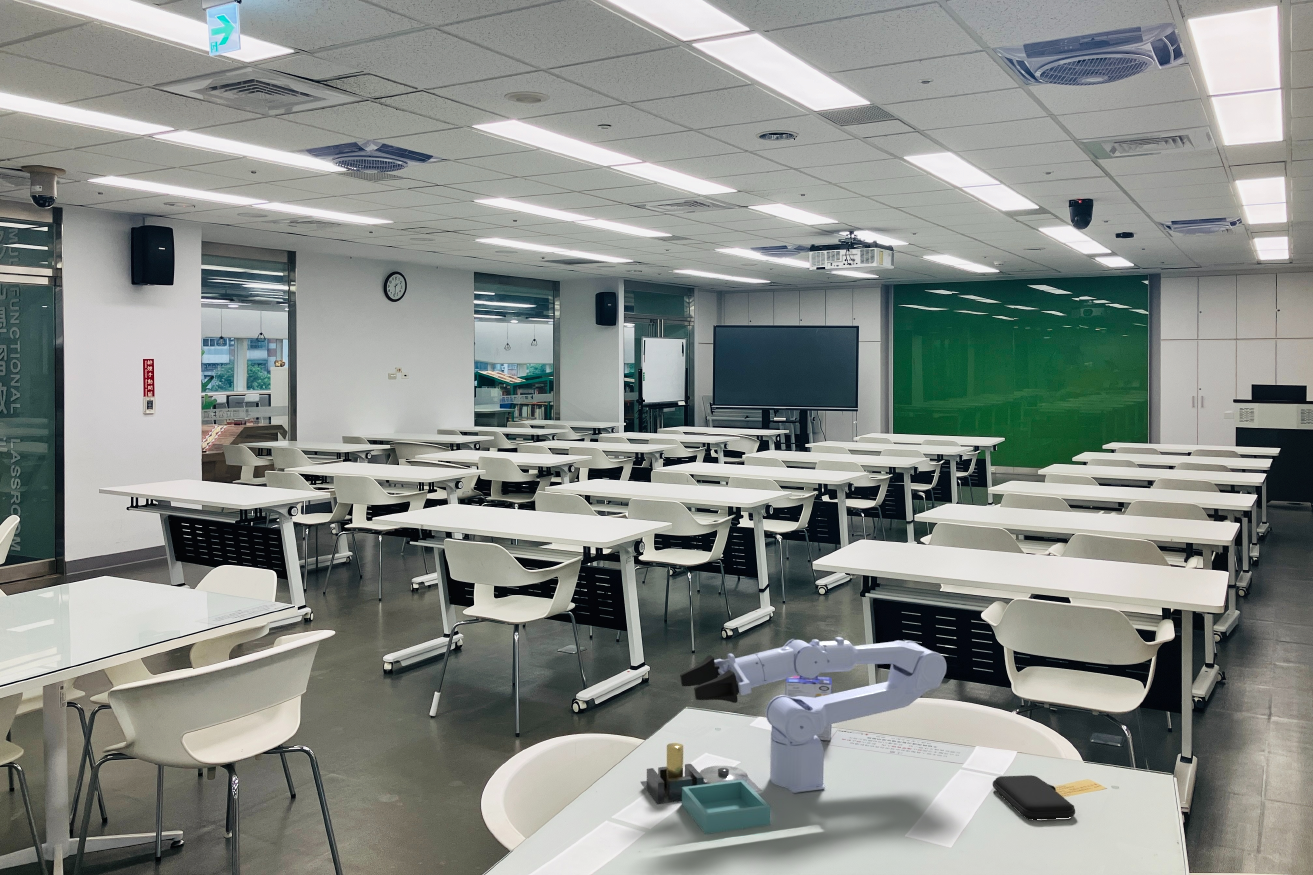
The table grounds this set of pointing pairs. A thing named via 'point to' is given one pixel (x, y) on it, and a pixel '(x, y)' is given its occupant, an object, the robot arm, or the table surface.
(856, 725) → the table surface
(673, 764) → the pin
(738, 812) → the tray
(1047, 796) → the carrying case or bag
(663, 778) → the plate
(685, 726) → the table surface
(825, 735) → the ink cartridge box
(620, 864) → the table surface
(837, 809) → the table surface
